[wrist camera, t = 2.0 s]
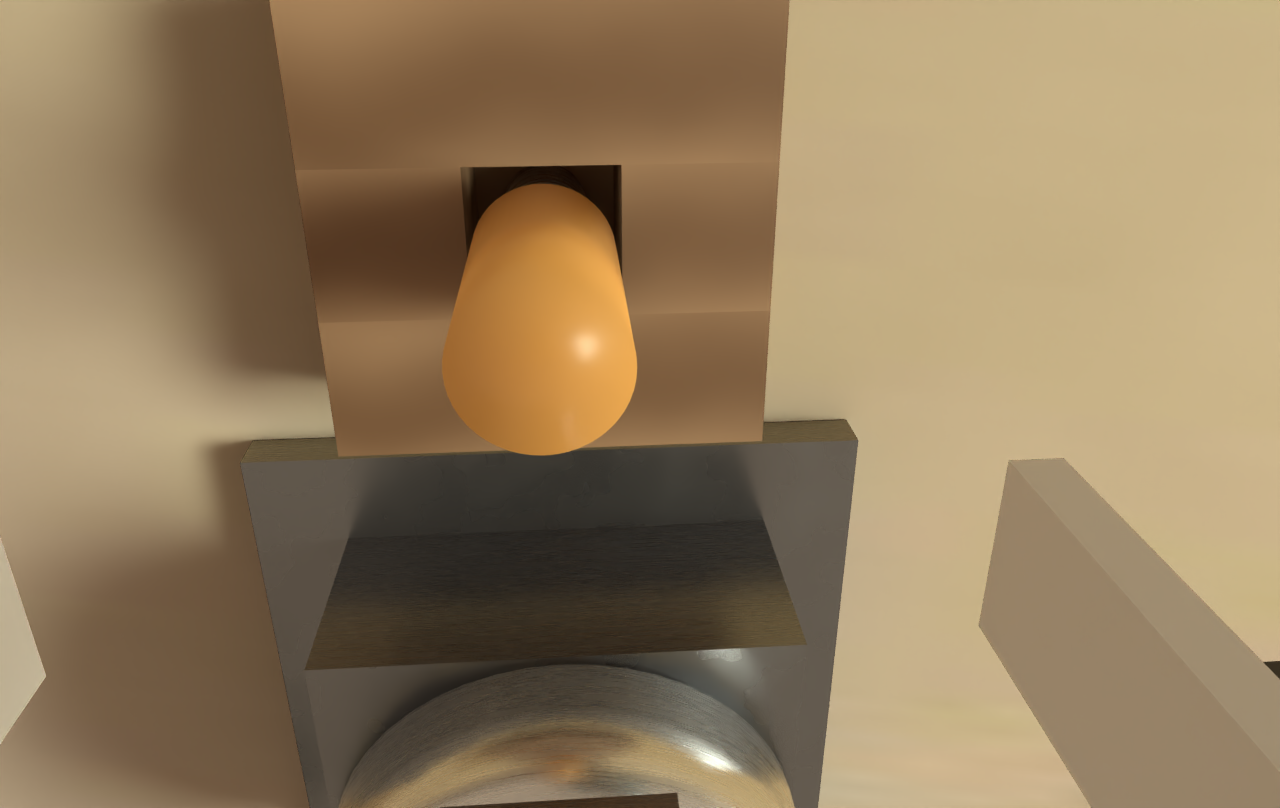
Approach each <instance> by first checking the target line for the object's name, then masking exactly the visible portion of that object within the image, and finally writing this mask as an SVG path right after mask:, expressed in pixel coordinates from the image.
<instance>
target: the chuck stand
mask: <svg viewBox="0 0 1280 808" xmlns="http://www.w3.org/2000/svg"><path fill="white" fill-rule="evenodd" d="M857 447H858V439H857V437H856V436H855V434H854V432H853V430H852V429H851V427H850V425H849V424H848V422H847V420H826V421H798V422H769V423H763V435H762V441H751V442H723V443H696V444H668V445H641V446H613V447H586V448H578V449H575V450H572V451H569V452H565V453H560V454H554V455H527V454H520V453H516V452H512V451H508V450H504V451H476V452H449V453H421V454H394V455H366V456H339V457H338V450H337V444H336V438H314V439H285V440H257V441H252V443H251V445H250V447H249V448H248V450H247V452H246V454H245V455H244V457H243V459H242V460H241V462H240V465H241V470H242V475H243V480H244V485H245V489H246V494H247V499H248V504H249V509H250V514H251V519H252V524H253V529H254V534H255V539H256V544H257V549H258V554H259V559H260V564H261V569H262V574H263V578H264V583H265V588H266V593H267V598H268V603H269V608H270V613H271V618H272V623H273V628H274V633H275V638H276V643H277V648H278V653H279V658H280V663H281V667H282V672H283V677H284V682H285V687H286V692H287V697H288V702H289V707H290V712H291V717H292V722H293V727H294V732H295V737H296V742H297V747H298V752H299V756H300V761H301V766H302V771H303V776H304V781H305V786H306V791H307V796H308V801H309V806H310V808H338V806H339V803H340V799H341V796H342V793H343V790H344V788H345V786H346V784H347V782H348V780H349V778H350V776H351V774H352V772H353V770H354V769H355V767H356V766H357V765H358V763H359V762H360V760H361V759H362V758H363V756H364V755H365V753H366V752H367V751H368V749H369V748H370V747H371V746H372V745H373V744H374V743H375V742H376V741H377V740H378V739H379V738H380V737H381V736H382V735H383V734H384V733H385V732H386V731H387V730H388V729H389V728H391V727H392V726H393V725H395V724H396V723H397V722H398V721H400V720H401V719H402V718H404V717H405V716H406V715H407V714H409V713H410V712H412V711H413V710H415V709H417V708H419V707H420V706H422V705H424V704H425V703H427V702H429V701H430V700H432V699H434V698H435V697H438V696H440V695H442V694H444V693H446V692H449V691H451V690H453V689H455V688H458V687H460V686H462V685H465V684H468V683H471V682H474V681H477V680H480V679H483V678H486V677H489V676H493V675H496V674H501V673H506V672H511V671H515V670H520V669H525V668H533V667H542V666H552V665H602V666H611V667H621V668H628V669H633V670H637V671H642V672H647V673H651V674H656V675H659V676H662V677H665V678H668V679H671V680H674V681H677V682H680V683H683V684H686V685H688V686H690V687H692V688H694V689H696V690H699V691H701V692H703V693H705V694H707V695H709V696H711V697H713V698H714V699H716V700H717V701H719V702H721V703H722V704H724V705H725V706H727V707H728V708H730V709H731V710H733V711H734V712H736V713H737V714H738V715H739V716H740V717H741V718H743V719H744V720H745V721H746V722H747V723H748V724H750V725H751V726H752V727H753V728H754V729H755V730H756V731H757V733H758V734H759V735H760V736H761V737H762V738H763V740H764V741H765V742H766V743H767V744H768V746H769V747H770V748H771V750H772V752H773V753H774V755H775V757H776V758H777V760H778V762H779V763H780V765H781V767H782V770H783V772H784V775H785V778H786V780H787V783H788V786H789V789H790V793H791V796H792V800H793V804H794V807H795V808H818V801H819V792H820V783H821V774H822V765H823V755H824V746H825V737H826V728H827V719H828V710H829V701H830V692H831V683H832V674H833V665H834V656H835V646H836V637H837V628H838V619H839V610H840V601H841V592H842V583H843V574H844V565H845V556H846V547H847V538H848V528H849V519H850V510H851V501H852V492H853V483H854V474H855V465H856V456H857Z"/></svg>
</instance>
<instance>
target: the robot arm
mask: <svg viewBox="0 0 1280 808" xmlns="http://www.w3.org/2000/svg"><path fill="white" fill-rule="evenodd" d="M979 627H980V628H981V630H982V632H983V633H984V635H985V637H986V638H987V640H988V641H989V643H990V645H991V646H992V648H993V649H994V651H995V653H996V654H997V656H998V658H999V659H1000V661H1001V662H1002V664H1003V666H1004V667H1005V669H1006V670H1007V672H1008V674H1009V675H1010V677H1011V679H1012V680H1013V682H1014V683H1015V685H1016V687H1017V688H1018V690H1019V691H1020V693H1021V695H1022V696H1023V698H1024V700H1025V701H1026V703H1027V704H1028V706H1029V708H1030V709H1031V711H1032V712H1033V714H1034V716H1035V717H1036V719H1037V720H1038V722H1039V724H1040V725H1041V727H1042V729H1043V730H1044V732H1045V733H1046V735H1047V737H1048V738H1049V740H1050V741H1051V743H1052V745H1053V746H1054V748H1055V750H1056V751H1057V753H1058V754H1059V756H1060V758H1061V759H1062V761H1063V762H1064V764H1065V766H1066V767H1067V769H1068V771H1069V772H1070V774H1071V775H1072V777H1073V779H1074V780H1075V782H1076V783H1077V785H1078V787H1079V788H1080V790H1081V792H1082V793H1083V795H1084V796H1085V798H1086V800H1087V801H1088V803H1089V804H1090V806H1091V808H1280V661H1273V662H1262V661H1261V660H1260V659H1259V658H1258V656H1257V655H1256V654H1255V653H1254V652H1253V651H1252V650H1251V649H1250V648H1249V647H1248V646H1247V645H1246V644H1245V643H1244V642H1243V641H1242V640H1241V639H1240V638H1239V637H1238V636H1237V635H1236V634H1235V633H1234V632H1233V631H1232V630H1231V629H1230V628H1229V627H1228V626H1227V625H1226V624H1225V623H1224V622H1223V621H1222V620H1221V619H1220V618H1219V617H1218V616H1217V615H1216V614H1215V612H1214V611H1213V610H1212V609H1211V608H1210V607H1209V606H1208V605H1207V604H1206V603H1205V602H1204V601H1203V600H1202V599H1201V598H1200V597H1199V596H1198V595H1197V594H1196V593H1195V592H1194V591H1193V590H1192V589H1191V588H1190V587H1189V586H1188V585H1187V584H1186V583H1185V582H1184V581H1183V580H1182V579H1181V578H1180V577H1179V576H1178V575H1177V574H1176V573H1175V572H1174V571H1173V570H1172V568H1171V567H1170V566H1169V565H1168V564H1167V563H1166V562H1165V561H1164V560H1163V559H1162V558H1161V557H1160V556H1159V555H1158V554H1157V553H1156V552H1155V551H1154V550H1153V549H1152V548H1151V547H1150V546H1149V545H1148V544H1147V543H1146V542H1145V541H1144V540H1143V539H1142V538H1141V537H1140V536H1139V535H1138V534H1137V533H1136V532H1135V531H1134V530H1133V529H1132V528H1131V527H1130V526H1129V524H1128V523H1127V522H1126V521H1125V520H1124V519H1123V518H1122V517H1121V516H1120V515H1119V514H1118V513H1117V512H1116V511H1115V510H1114V509H1113V508H1112V507H1111V506H1110V505H1109V504H1108V503H1107V502H1106V501H1105V500H1104V499H1103V498H1102V497H1101V496H1100V495H1099V494H1098V493H1097V492H1096V491H1095V490H1094V489H1093V488H1092V487H1091V486H1090V485H1089V484H1088V483H1087V482H1086V480H1085V479H1084V478H1083V477H1082V476H1081V475H1080V474H1079V473H1078V472H1077V471H1076V470H1075V469H1074V468H1073V467H1072V466H1071V465H1070V464H1069V463H1068V462H1067V461H1066V460H1065V459H1064V458H1055V459H1031V460H1009V462H1008V467H1007V473H1006V478H1005V484H1004V489H1003V495H1002V500H1001V506H1000V511H999V517H998V522H997V528H996V533H995V539H994V544H993V550H992V555H991V561H990V566H989V572H988V577H987V583H986V588H985V594H984V599H983V604H982V610H981V615H980V621H979ZM45 677H46V674H45V671H44V668H43V665H42V661H41V658H40V655H39V652H38V649H37V646H36V643H35V640H34V637H33V634H32V631H31V628H30V625H29V622H28V619H27V616H26V613H25V610H24V607H23V604H22V601H21V598H20V595H19V592H18V589H17V586H16V583H15V579H14V576H13V573H12V570H11V567H10V564H9V561H8V558H7V555H6V552H5V549H4V546H3V543H2V540H1V537H0V744H1V743H2V741H3V740H4V738H5V737H6V735H7V734H8V732H9V731H10V729H11V728H12V726H13V725H14V723H15V722H16V720H17V719H18V717H19V716H20V714H21V713H22V711H23V710H24V708H25V707H26V705H27V704H28V703H29V701H30V700H31V698H32V697H33V695H34V694H35V692H36V691H37V689H38V688H39V686H40V685H41V683H42V682H43V680H44V679H45Z"/></svg>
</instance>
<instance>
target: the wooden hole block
mask: <svg viewBox="0 0 1280 808" xmlns="http://www.w3.org/2000/svg"><path fill="white" fill-rule="evenodd" d="M269 2H270V9H271V16H272V22H273V29H274V35H275V42H276V49H277V55H278V62H279V68H280V75H281V81H282V88H283V95H284V101H285V108H286V114H287V121H288V128H289V134H290V141H291V147H292V154H293V161H294V167H295V174H296V180H297V187H298V193H299V200H300V207H301V213H302V220H303V226H304V233H305V240H306V246H307V253H308V259H309V266H310V272H311V279H312V286H313V292H314V299H315V305H316V312H317V319H318V325H319V332H320V338H321V345H322V351H323V358H324V365H325V371H326V378H327V384H328V391H329V398H330V404H331V411H332V417H333V424H334V431H335V437H336V444H337V450H338V457H339V456H366V455H394V454H421V453H449V452H476V451H504V450H506V449H503V448H500V447H498V446H496V445H494V444H492V443H490V442H488V441H486V440H485V439H483V438H482V437H480V436H479V435H477V434H476V433H475V432H474V431H473V430H471V429H470V428H469V427H468V426H467V425H466V424H465V423H464V421H463V420H462V419H461V418H460V417H459V415H458V414H457V412H456V411H455V409H454V408H453V406H452V404H451V402H450V400H449V398H448V395H447V392H446V389H445V386H444V381H443V375H442V357H443V349H444V346H445V342H446V338H447V334H448V330H449V326H450V323H451V319H452V315H453V311H454V307H455V303H456V299H457V296H458V292H459V288H460V284H461V280H462V276H463V273H464V269H465V265H466V261H467V257H468V253H469V249H470V246H471V242H472V238H473V234H474V231H475V228H476V226H477V224H478V221H479V220H480V218H481V216H482V215H483V213H484V212H485V211H486V210H487V208H488V207H489V206H490V205H491V204H492V203H493V202H494V201H495V200H496V199H498V198H499V197H501V196H502V195H504V194H505V193H506V191H507V188H508V186H509V184H510V182H511V180H512V179H513V178H514V177H515V175H517V174H518V173H519V172H520V171H521V170H523V169H524V168H526V167H528V166H561V167H563V168H565V169H567V170H569V171H570V172H571V173H572V174H574V175H575V176H576V177H577V179H578V180H579V181H580V183H581V185H582V186H583V189H584V191H585V195H586V198H588V199H589V200H590V201H591V202H592V203H594V204H595V205H596V207H597V208H598V209H599V210H600V211H601V212H602V214H603V215H604V216H605V218H606V219H607V221H608V223H609V225H610V227H611V230H612V232H613V235H614V239H615V244H616V249H617V254H618V260H619V265H620V270H621V276H622V281H623V286H624V292H625V297H626V302H627V308H628V313H629V319H630V324H631V329H632V335H633V340H634V345H635V351H636V356H637V379H636V383H635V388H634V392H633V394H632V397H631V400H630V402H629V404H628V406H627V408H626V409H625V411H624V413H623V414H622V415H621V417H620V418H619V420H618V421H617V422H616V423H615V424H614V425H613V426H612V427H611V428H610V429H609V430H608V431H607V432H606V433H604V434H603V435H602V436H601V437H599V438H598V439H596V440H594V441H593V442H591V443H589V444H587V445H585V446H583V447H581V448H586V447H613V446H641V445H668V444H696V443H723V442H751V441H762V435H763V419H764V403H765V387H766V371H767V354H768V338H769V322H770V306H771V290H772V274H773V258H774V241H775V225H776V209H777V193H778V177H779V161H780V145H781V128H782V112H783V96H784V80H785V64H786V48H787V32H788V16H789V0H269Z"/></svg>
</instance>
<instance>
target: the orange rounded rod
mask: <svg viewBox="0 0 1280 808" xmlns="http://www.w3.org/2000/svg"><path fill="white" fill-rule="evenodd" d="M442 375H443V381H444V386H445V389H446V392H447V395H448V398H449V400H450V402H451V404H452V406H453V408H454V409H455V411H456V412H457V414H458V415H459V417H460V418H461V419H462V420H463V421H464V423H465V424H466V425H467V426H468V427H469V428H470V429H471V430H473V431H474V432H475V433H476V434H477V435H479V436H480V437H482V438H483V439H485V440H486V441H488V442H490V443H492V444H494V445H496V446H498V447H500V448H503V449H506V450H508V451H512V452H516V453H520V454H527V455H554V454H560V453H565V452H569V451H572V450H575V449H578V448H581V447H583V446H585V445H587V444H589V443H591V442H593V441H594V440H596V439H598V438H599V437H601V436H602V435H603V434H604V433H606V432H607V431H608V430H609V429H610V428H611V427H612V426H613V425H614V424H615V423H616V422H617V421H618V420H619V418H620V417H621V415H622V414H623V413H624V411H625V409H626V408H627V406H628V404H629V402H630V400H631V397H632V394H633V392H634V388H635V383H636V379H637V356H636V351H635V345H634V340H633V335H632V329H631V324H630V319H629V313H628V308H627V302H626V297H625V292H624V286H623V281H622V276H621V270H620V265H619V260H618V254H617V249H616V244H615V239H614V235H613V232H612V230H611V227H610V225H609V223H608V221H607V219H606V218H605V216H604V215H603V214H602V212H601V211H600V210H599V209H598V208H597V207H596V205H595V204H594V203H592V202H591V201H590V200H589V199H588V198H586V195H585V191H584V189H583V186H582V185H581V183H580V181H579V180H578V179H577V177H576V176H575V175H574V174H572V173H571V172H570V171H569V170H567V169H565V168H563V167H561V166H528V167H526V168H524V169H523V170H521V171H520V172H519V173H518V174H517V175H515V177H514V178H513V179H512V180H511V182H510V184H509V186H508V188H507V191H506V193H505V194H504V195H502V196H501V197H499V198H498V199H496V200H495V201H494V202H493V203H492V204H491V205H490V206H489V207H488V208H487V210H486V211H485V212H484V213H483V215H482V216H481V218H480V220H479V221H478V224H477V226H476V228H475V231H474V234H473V238H472V242H471V246H470V249H469V253H468V257H467V261H466V265H465V269H464V273H463V276H462V280H461V284H460V288H459V292H458V296H457V299H456V303H455V307H454V311H453V315H452V319H451V323H450V326H449V330H448V334H447V338H446V342H445V346H444V349H443V357H442Z"/></svg>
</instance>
